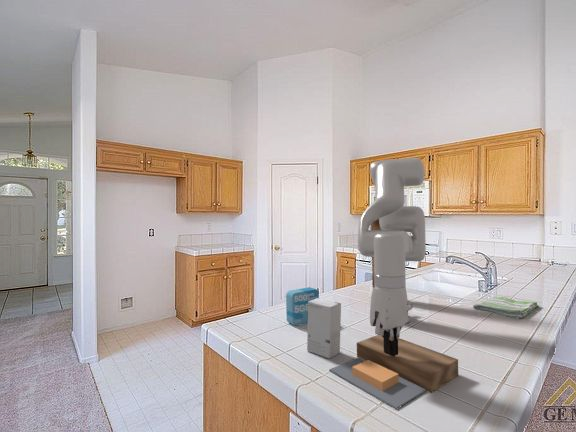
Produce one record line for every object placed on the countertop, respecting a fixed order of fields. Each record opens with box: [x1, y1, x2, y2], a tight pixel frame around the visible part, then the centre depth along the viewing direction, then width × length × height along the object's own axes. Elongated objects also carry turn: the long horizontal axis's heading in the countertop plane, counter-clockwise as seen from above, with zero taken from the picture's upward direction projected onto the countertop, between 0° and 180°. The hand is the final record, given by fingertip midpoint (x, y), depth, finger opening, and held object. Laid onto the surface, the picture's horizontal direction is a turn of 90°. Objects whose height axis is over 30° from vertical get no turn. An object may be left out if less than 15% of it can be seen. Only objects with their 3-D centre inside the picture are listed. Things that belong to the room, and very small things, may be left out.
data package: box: [285, 286, 320, 327], centre depth 117 cm, size 12×4×12 cm, turn 121°
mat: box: [328, 357, 427, 410], centre depth 75 cm, size 11×20×1 cm, turn 35°
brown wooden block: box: [356, 334, 459, 393], centre depth 82 cm, size 12×22×4 cm, turn 35°
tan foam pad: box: [352, 360, 399, 391], centre depth 76 cm, size 9×6×2 cm, turn 36°
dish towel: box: [472, 296, 539, 320], centre depth 129 cm, size 17×23×4 cm
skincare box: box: [306, 297, 342, 359], centre depth 91 cm, size 8×6×15 cm
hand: (390, 353), depth 79 cm, fingers closed
